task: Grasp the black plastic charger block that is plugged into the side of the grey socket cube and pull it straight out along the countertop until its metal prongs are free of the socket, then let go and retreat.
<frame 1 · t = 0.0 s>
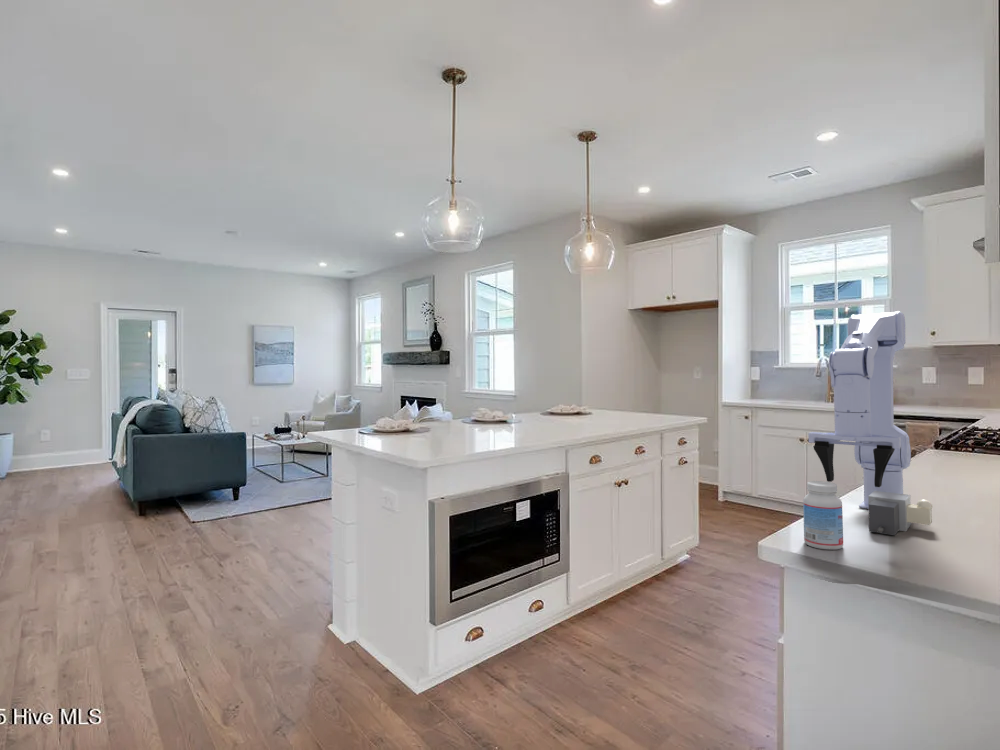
hand: (853, 483, 101), 10 cm above the countertop, fingers open, 7 cm apart
pill bottle: (823, 546, 96), on the countertop
charger: (884, 516, 103), point 3 cm above the countertop, slide at 0.0 cm
socket cube: (889, 525, 107), on the countertop
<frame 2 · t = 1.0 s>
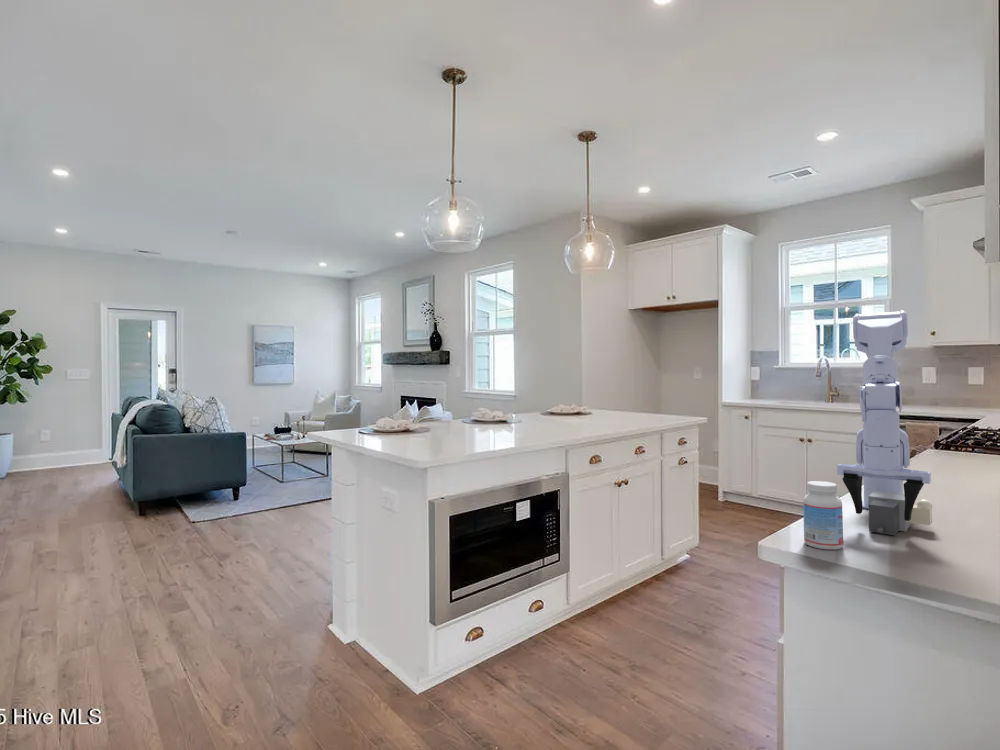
hand: (882, 516, 102), 3 cm above the countertop, fingers open, 7 cm apart
nothing on the countertop moved.
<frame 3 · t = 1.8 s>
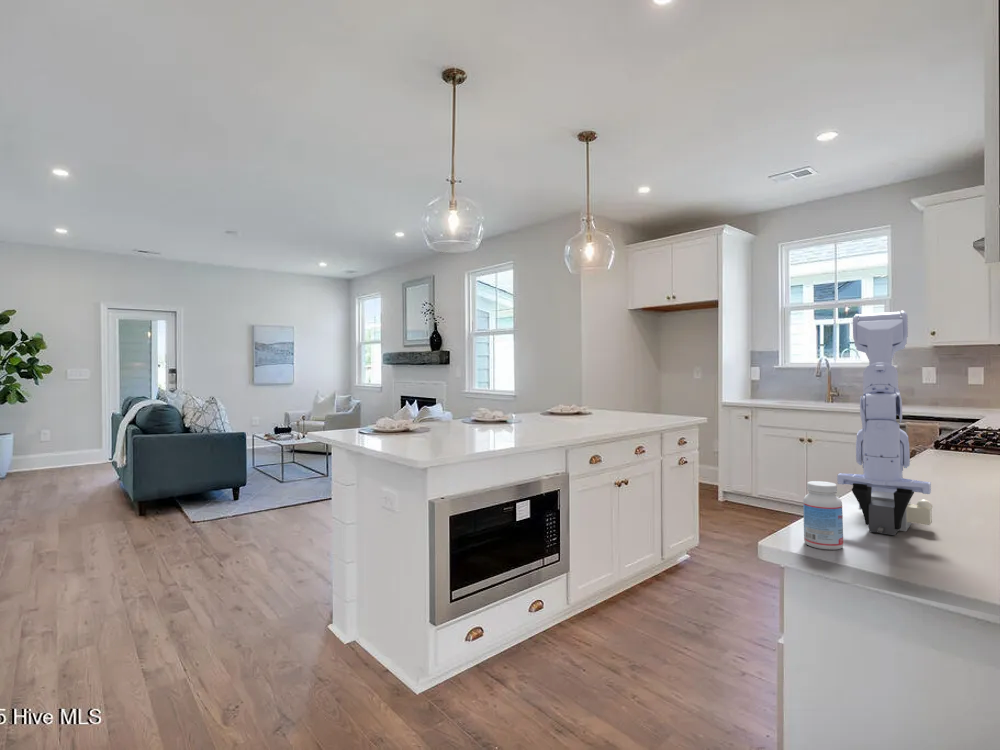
hand: (883, 525, 102), 1 cm above the countertop, fingers closed on charger, 4 cm apart
charger: (884, 516, 103), point 3 cm above the countertop, slide at 0.0 cm, touching gripper
everything else where it was.
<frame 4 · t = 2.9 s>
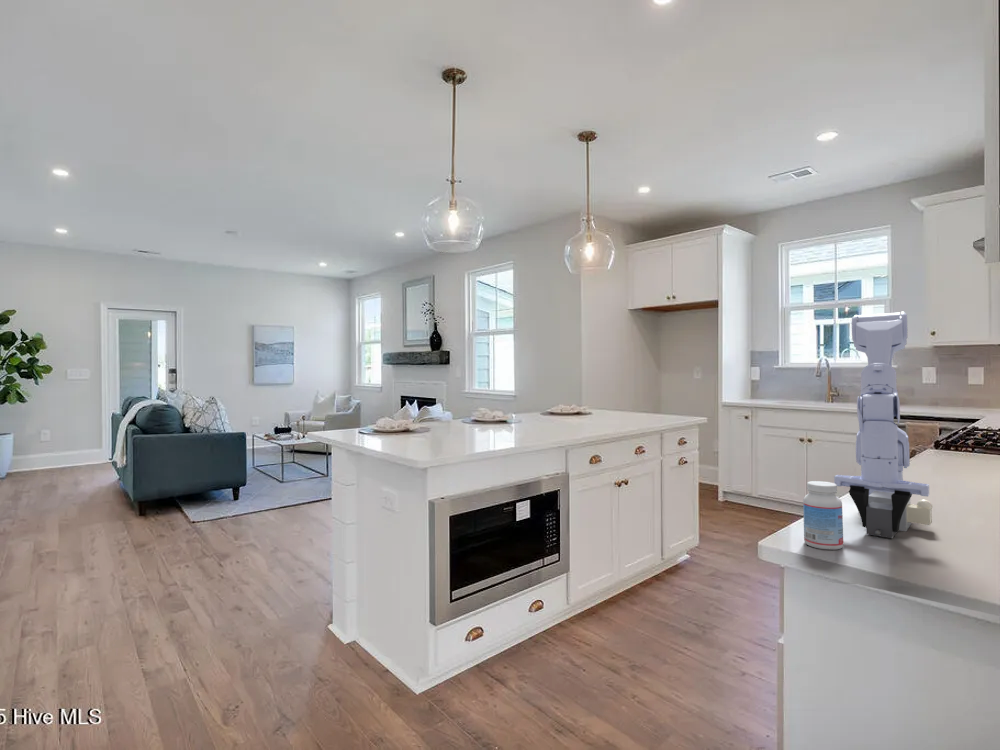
hand: (880, 528, 101), 1 cm above the countertop, fingers closed on charger, 4 cm apart
charger: (882, 519, 102), point 3 cm above the countertop, slide at 2.3 cm, touching gripper
everything else where it was.
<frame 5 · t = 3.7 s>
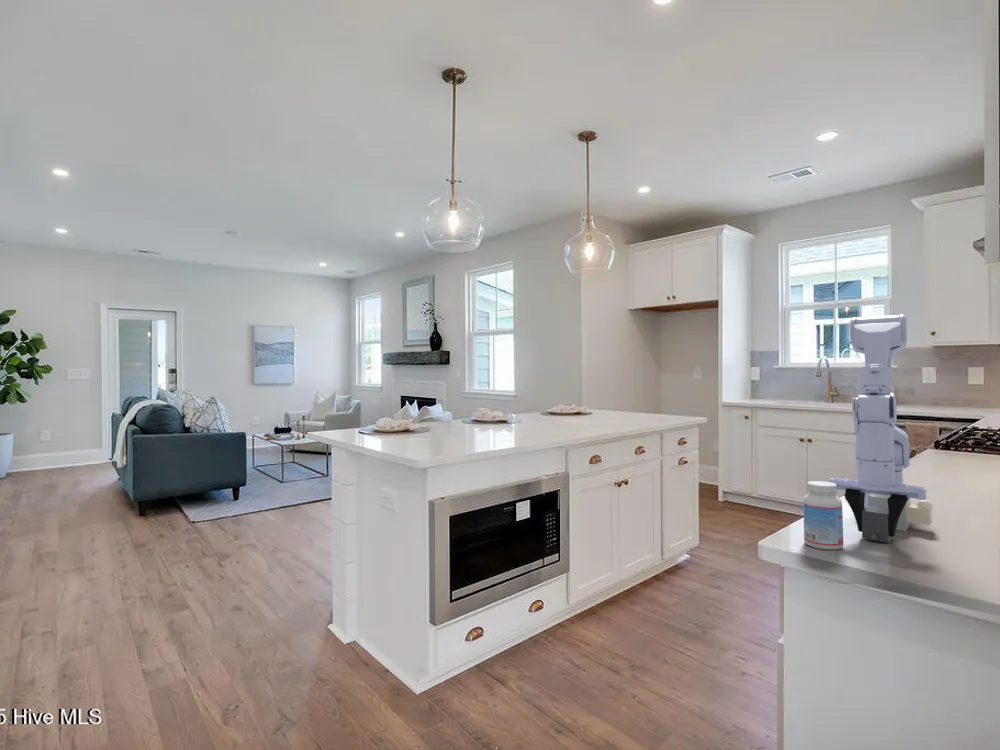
hand: (876, 532, 98), 1 cm above the countertop, fingers closed on charger, 4 cm apart
charger: (878, 523, 99), point 3 cm above the countertop, slide at 5.9 cm, touching gripper
everything else where it was.
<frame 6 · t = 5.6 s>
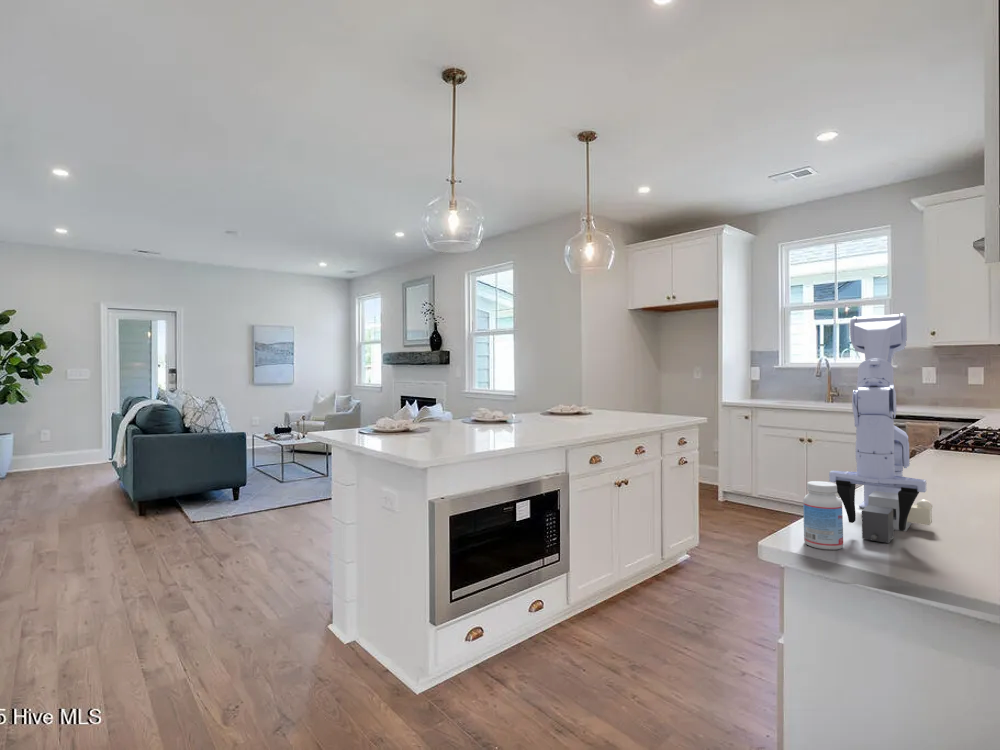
hand: (876, 525, 98), 3 cm above the countertop, fingers open, 7 cm apart
charger: (878, 523, 99), point 3 cm above the countertop, slide at 6.0 cm
everything else where it was.
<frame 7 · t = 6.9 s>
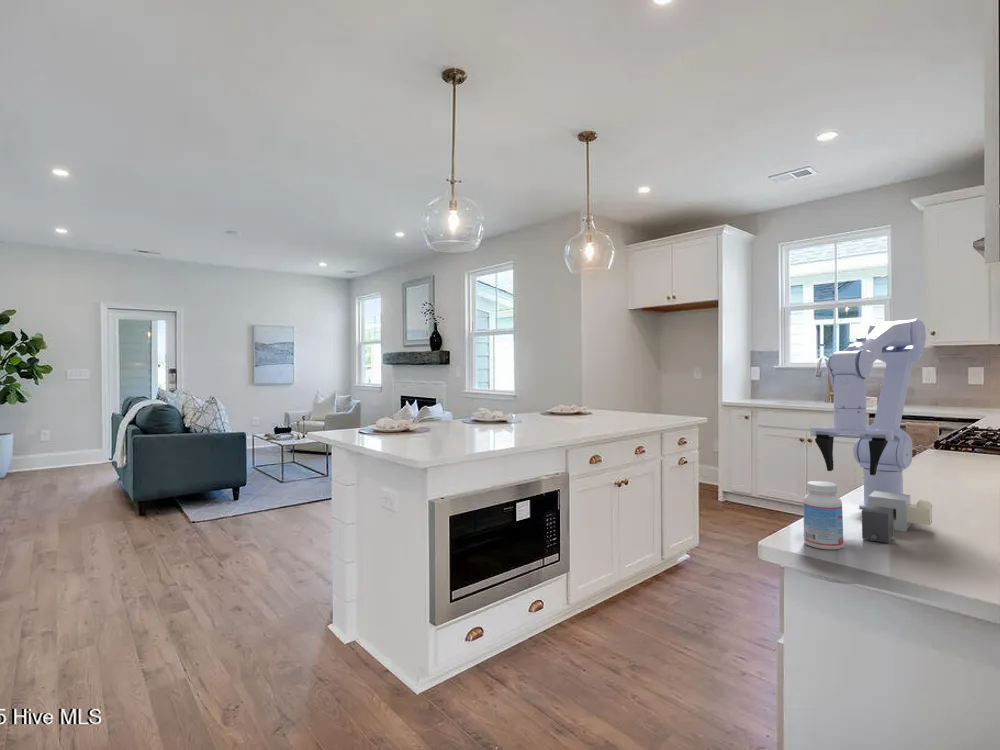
hand: (851, 472, 112), 10 cm above the countertop, fingers open, 7 cm apart
nothing on the countertop moved.
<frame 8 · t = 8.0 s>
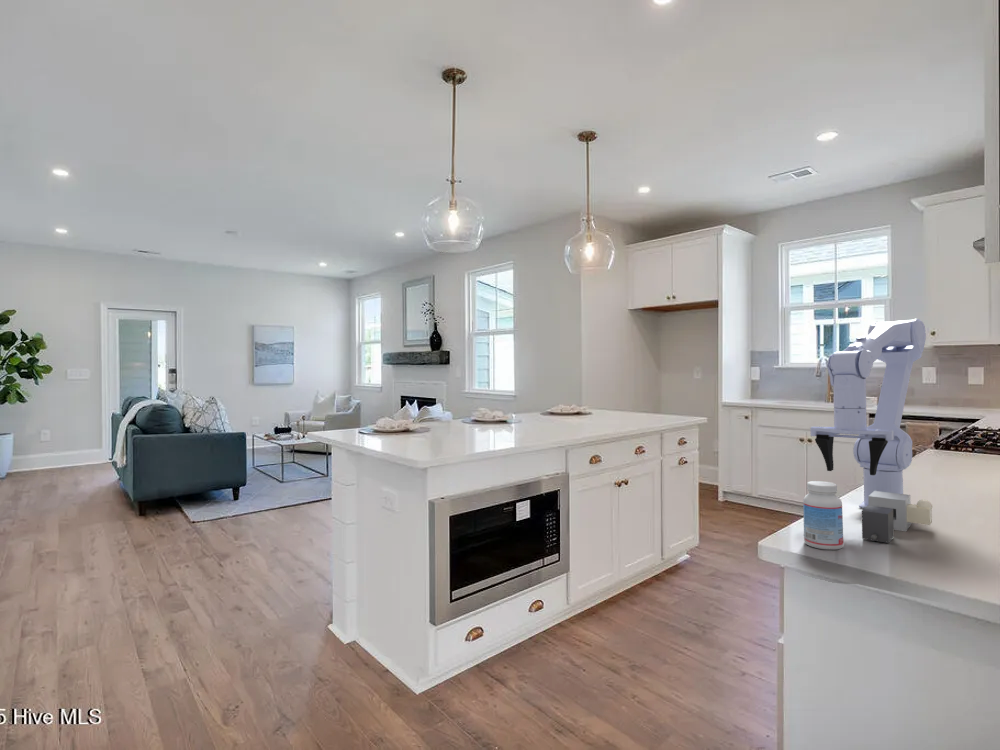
hand: (851, 472, 112), 10 cm above the countertop, fingers open, 7 cm apart
nothing on the countertop moved.
at the end: charger slide at 6.0 cm; the gripper is holding nothing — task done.
